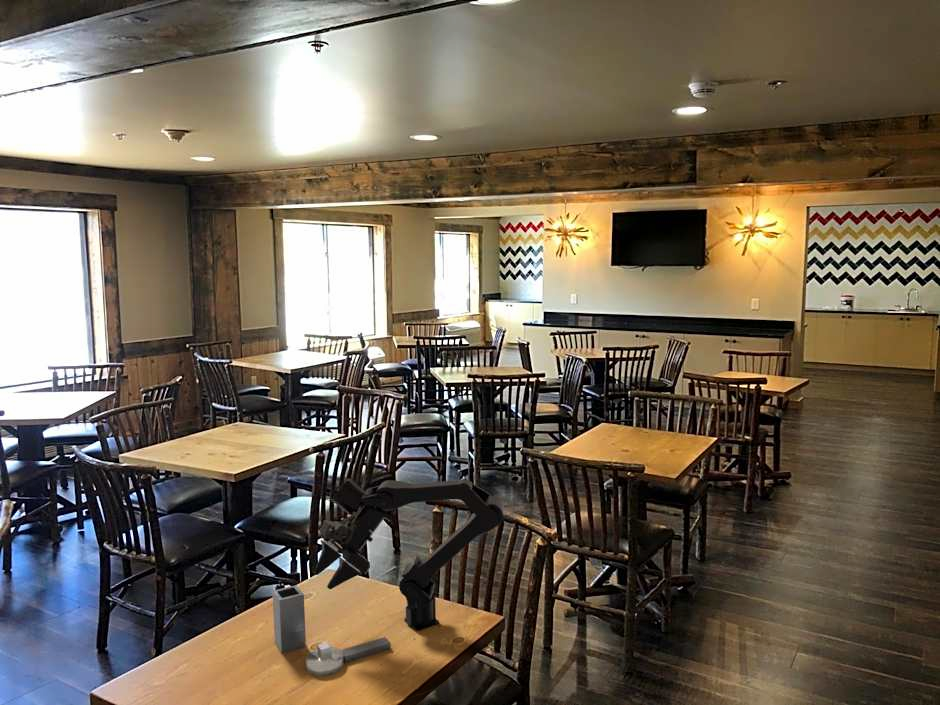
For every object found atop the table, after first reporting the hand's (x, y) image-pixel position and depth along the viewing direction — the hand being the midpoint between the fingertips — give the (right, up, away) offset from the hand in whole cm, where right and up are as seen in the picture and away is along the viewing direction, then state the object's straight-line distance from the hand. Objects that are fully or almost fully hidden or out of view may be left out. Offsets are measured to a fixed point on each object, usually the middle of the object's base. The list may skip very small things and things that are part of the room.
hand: (321, 581), depth 166 cm
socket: (-7, -14, -2) cm, 16 cm away
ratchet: (+8, -14, -9) cm, 18 cm away
